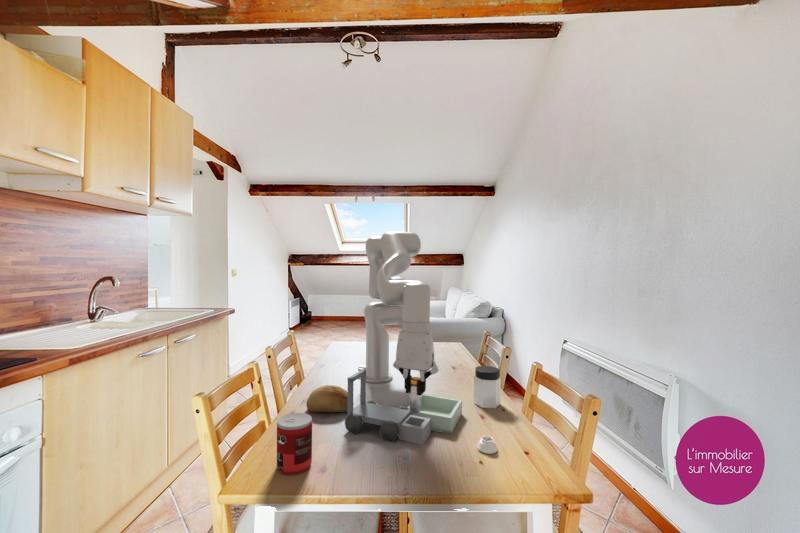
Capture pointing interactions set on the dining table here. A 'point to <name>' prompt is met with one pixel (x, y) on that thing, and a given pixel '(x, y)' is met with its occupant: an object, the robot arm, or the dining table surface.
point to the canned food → (294, 443)
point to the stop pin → (414, 395)
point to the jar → (487, 386)
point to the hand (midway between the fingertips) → (415, 392)
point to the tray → (440, 412)
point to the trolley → (384, 417)
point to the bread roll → (328, 399)
